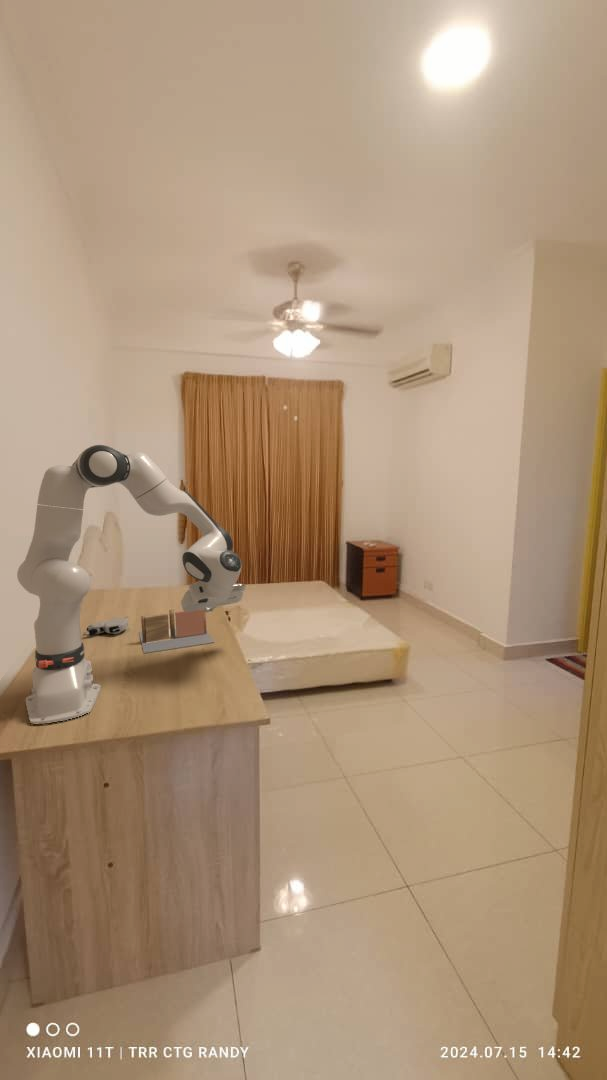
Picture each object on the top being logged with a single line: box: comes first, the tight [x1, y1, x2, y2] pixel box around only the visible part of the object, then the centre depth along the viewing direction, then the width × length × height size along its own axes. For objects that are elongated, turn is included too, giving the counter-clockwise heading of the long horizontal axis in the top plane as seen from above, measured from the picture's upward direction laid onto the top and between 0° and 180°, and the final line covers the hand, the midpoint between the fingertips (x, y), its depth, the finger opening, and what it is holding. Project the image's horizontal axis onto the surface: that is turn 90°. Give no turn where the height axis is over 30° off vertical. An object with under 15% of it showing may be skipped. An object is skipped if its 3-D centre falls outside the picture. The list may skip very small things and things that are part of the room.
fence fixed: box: [140, 609, 176, 643], centre depth 172 cm, size 2×11×11 cm, turn 113°
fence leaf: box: [174, 609, 208, 638], centre depth 177 cm, size 1×11×10 cm, turn 113°
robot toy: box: [83, 616, 129, 636], centre depth 183 cm, size 12×4×15 cm
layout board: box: [138, 627, 215, 655], centre depth 176 cm, size 22×24×1 cm
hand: (207, 610), depth 162 cm, fingers closed
